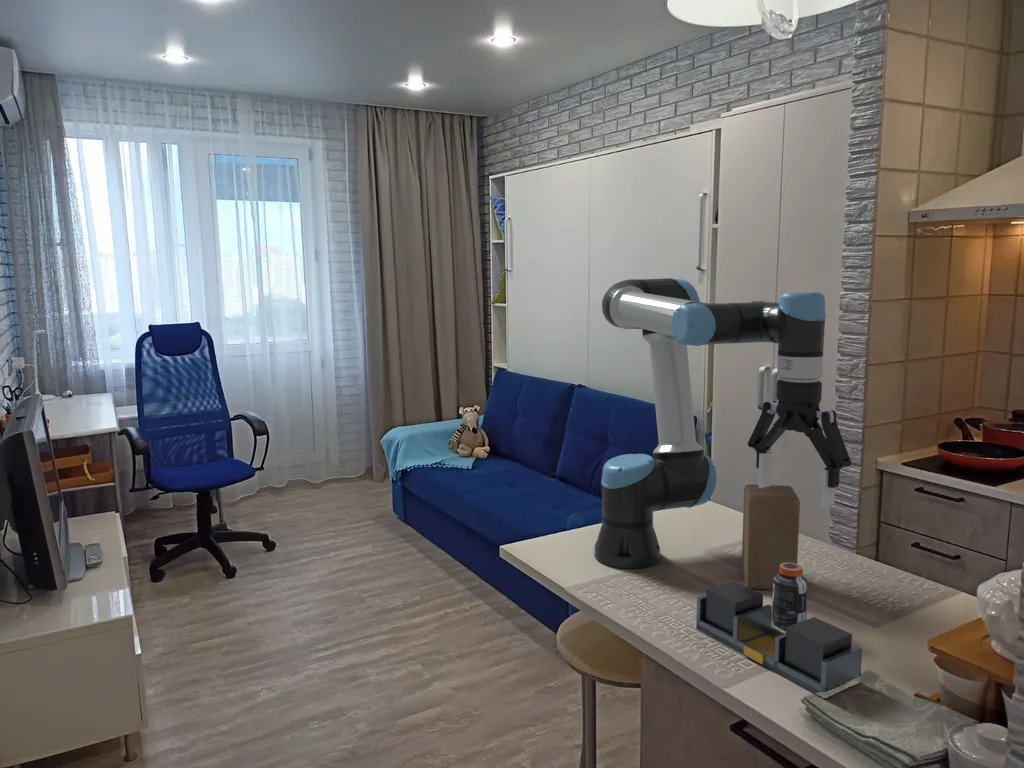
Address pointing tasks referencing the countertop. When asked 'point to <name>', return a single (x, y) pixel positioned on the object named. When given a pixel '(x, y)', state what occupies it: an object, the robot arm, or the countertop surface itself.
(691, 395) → the robot arm
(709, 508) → the countertop surface
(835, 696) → the countertop surface
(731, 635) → the rack
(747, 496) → the block
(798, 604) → the pill bottle
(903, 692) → the countertop surface
